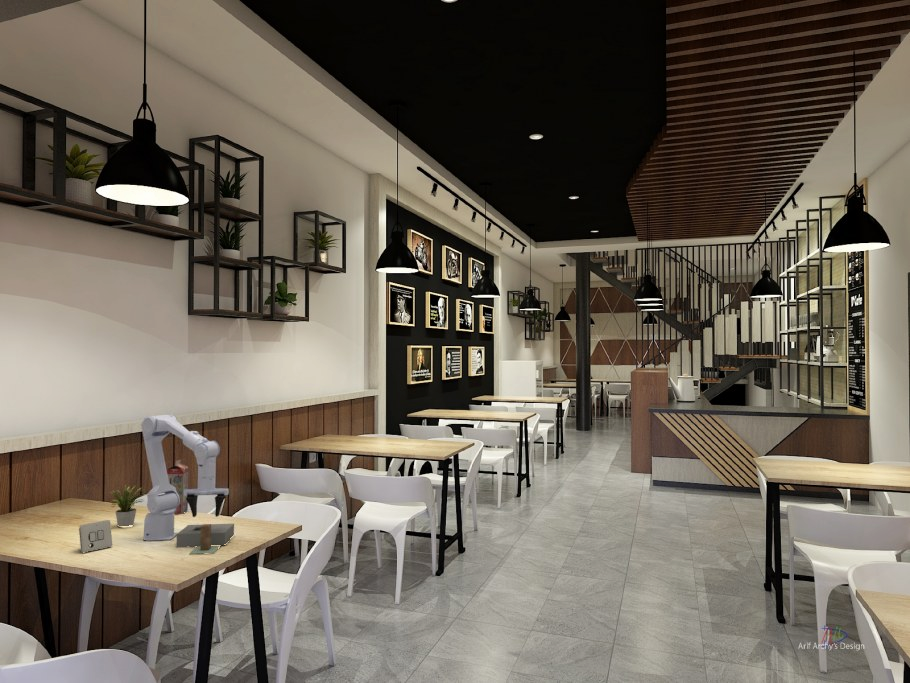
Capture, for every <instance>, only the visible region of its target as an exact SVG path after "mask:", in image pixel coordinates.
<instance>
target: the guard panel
mask: <svg viewBox="0 0 910 683" xmlns="http://www.w3.org/2000/svg"><path fill="white" fill-rule="evenodd" d="M203 524H204V523H203ZM203 524H188V525H186V526H185V527H183V529H181V530H180V531H179V532H176V533H177V535H176V543H175V544H176V546H175V547H176V548H188V547H187V546H200V541H201V526H202V525H203ZM210 524H211V545H224V544H226V543H227V542H228V541H229V540H230V538H231V537H232V536H233V535H234V536H235V523H210ZM230 541H231V540H230ZM230 541H229V542H230ZM229 542H228V543H229ZM228 543H227V544H228ZM227 544H226V545H227Z"/></svg>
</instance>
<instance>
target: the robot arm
mask: <svg viewBox="0 0 910 683" xmlns="http://www.w3.org/2000/svg"><path fill="white" fill-rule="evenodd" d="M140 426H141V432H142V436H143V441H144V447H145V452H146V458H147V459H146V460H147V463H148V468H149V473H150V480H151V484H152V488H151V489H150V490H149V491H148V493H147V495H146V498H147V501H146V506H147V510H148V513H146V515H145V517H144V520H143V521H144V522H143V539H142V540H146V541H169V540H173V538H175V537H177V533H178V532H175V515H174V511H176V508H177V507H178V506H179V504H180V498H179V495H178V494H177V491H176V488H175V487H174V486H172V485H171V484H169V480H168V475H167V470H168V469H167V465H166V460H165V455H164V450H163V444H162V441H163V439H165V437H167V436H168V435H169V434H170V433H171V434H172V435H175V436H176V437H178V438H179V439H181V440H182V444H183V445H184V446H185V447H187V448H188V449H189V450H191V451H192V452H193V453H194V456H195V458H196V464H197V488H188V489H186V490H184V496H187V498H186V500H187V502H188V505H189V506H188V507H189V508H190V512H191V514H192V516H191V517H192V518H195V517H197V515H198V514H197V513H198V510H197V507H198V506H197V505H198V498H199V496H215V497H214V502H215V513H214V514H215V516H214V517H216V518H217V517H219V516H220V512H221V508H222V505H223V503H224V500H225V499H226V497H227V496H228V495H229V493H230V492H229V490H230V489H229V488H220V487H216V478H217V477H216V474H217V473H216V472H217V471H216V469H217V468H216V467H217V466H216V465H217V457H218V456H219V455H220V451H221V447H220V445H219V443H218V442H217V441H216V440H209V439H208V438H206V437H204V436H202V435H201V434H199V433H200V432H199V431H196V430H188V429H187V428H186V427H185V426H183V425H182V424H181V423H180V422H179V421H178V420H177V417H176V416H174V415H173V414H170V413H167V414H159V415H158V414H157V415H147V416H146V417H145V418H144V419H143V421H142V422H141V425H140Z"/></svg>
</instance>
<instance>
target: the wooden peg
mask: <svg viewBox="0 0 910 683" xmlns="http://www.w3.org/2000/svg"><path fill="white" fill-rule="evenodd" d="M211 524H212V523H210V524H209V523H203V525H202V524H201V525H202V526H201V541H200V551H205V550H209V549H210V548H211Z"/></svg>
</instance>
